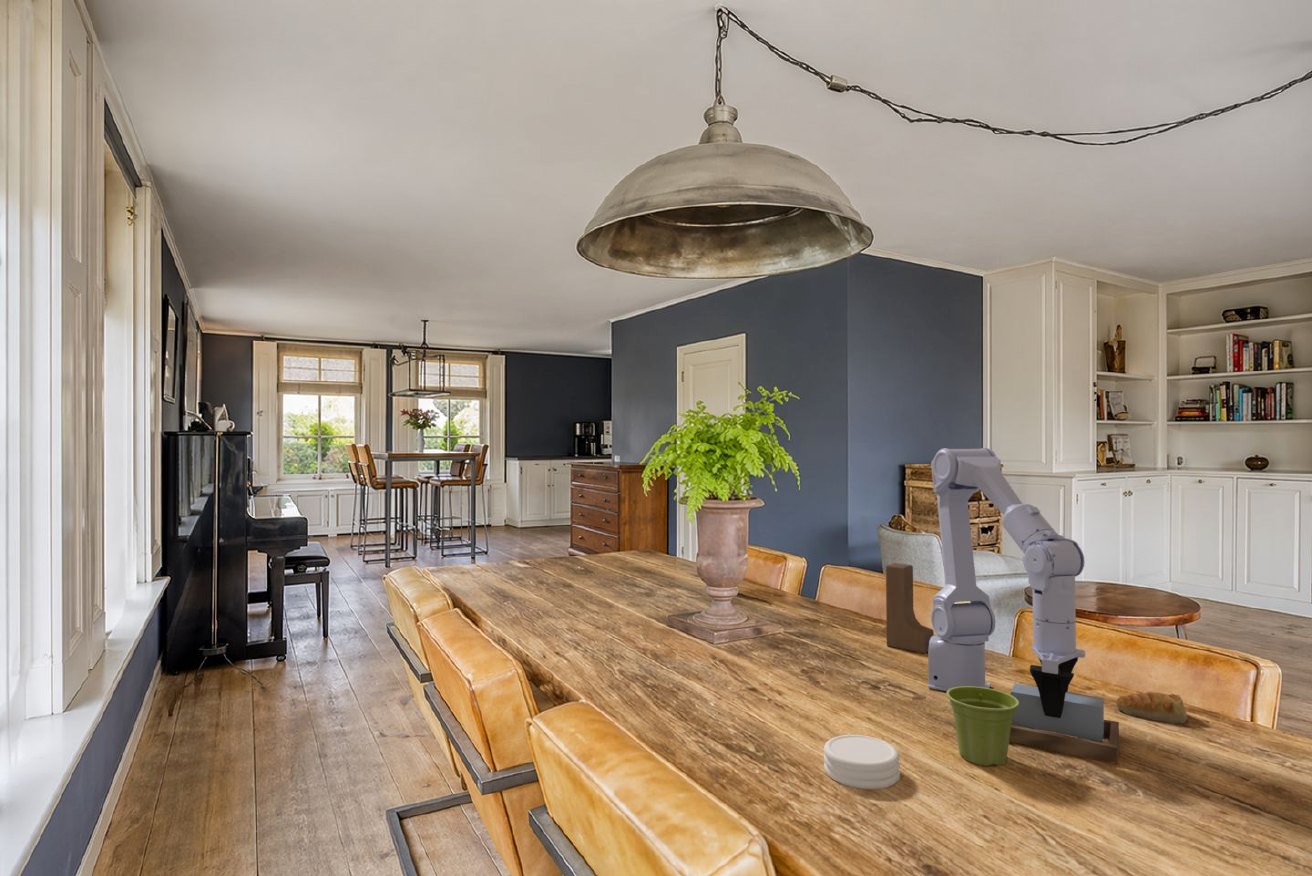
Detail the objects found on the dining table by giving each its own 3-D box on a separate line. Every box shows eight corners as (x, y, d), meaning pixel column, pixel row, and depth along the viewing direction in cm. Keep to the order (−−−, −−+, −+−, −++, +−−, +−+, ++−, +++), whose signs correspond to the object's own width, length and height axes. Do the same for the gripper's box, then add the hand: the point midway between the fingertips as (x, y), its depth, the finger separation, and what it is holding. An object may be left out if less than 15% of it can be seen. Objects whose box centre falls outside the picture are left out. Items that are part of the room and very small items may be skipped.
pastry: (1122, 719, 115) (1121, 695, 115) (1110, 705, 121) (1110, 682, 121) (1191, 726, 112) (1190, 702, 112) (1175, 711, 118) (1175, 688, 118)
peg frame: (992, 737, 107) (991, 723, 107) (1003, 714, 116) (1003, 701, 116) (1117, 763, 98) (1117, 748, 98) (1119, 736, 107) (1118, 722, 107)
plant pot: (958, 738, 107) (957, 681, 107) (1026, 755, 101) (1025, 694, 101) (938, 760, 100) (937, 698, 100) (1010, 779, 94) (1009, 714, 94)
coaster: (809, 774, 97) (809, 748, 97) (847, 751, 104) (847, 727, 104) (877, 799, 89) (876, 772, 89) (913, 773, 96) (912, 748, 96)
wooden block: (934, 650, 153) (933, 567, 154) (925, 654, 150) (924, 570, 150) (895, 642, 160) (894, 562, 160) (885, 646, 157) (885, 565, 157)
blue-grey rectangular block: (1011, 724, 109) (1010, 691, 109) (1015, 714, 113) (1014, 683, 113) (1102, 742, 102) (1102, 707, 102) (1104, 731, 106) (1103, 698, 106)
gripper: (1081, 633, 99) (1082, 730, 99) (1087, 612, 111) (1088, 699, 111) (1025, 626, 103) (1026, 719, 103) (1036, 607, 115) (1038, 690, 115)
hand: (1055, 708), depth 107 cm, fingers open, 7 cm apart
